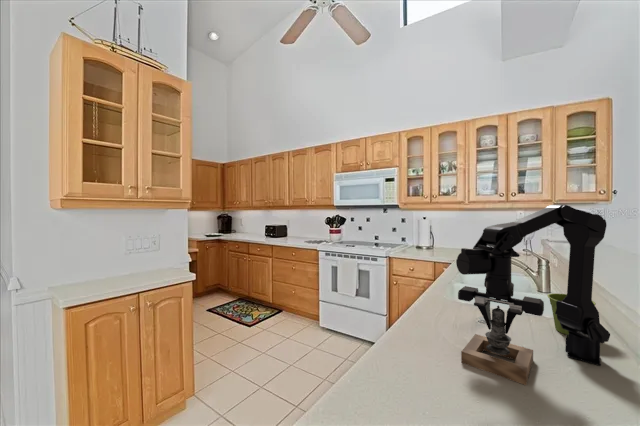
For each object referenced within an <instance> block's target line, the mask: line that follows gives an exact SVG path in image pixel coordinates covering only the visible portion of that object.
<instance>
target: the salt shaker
mask: <svg viewBox="0 0 640 426" xmlns="http://www.w3.org/2000/svg"><path fill="white" fill-rule="evenodd" d="M491 310H492V311H491V321H490V322H491V323H492V324H491V330H490V331H486V332H485V337H487V340H488V342H489V343H490V344H489V345H487V349H488V350H489V351H491V352H493V353H492V354H494V353H496V354H495V355H497V354H500V355H508V354H510V351H509V350H508V349H507V348H506V347H508V346H509V344H511V341H512V338H511V337H510V335H508V334H506V333H505V325H506V318H505V316H506V315H505V311H504V310H503V309H502V308H501V307H500V306H499V305H497V306H496V307H495V308H492V309H491ZM491 352H490V353H491ZM500 355H499V356H500Z"/></svg>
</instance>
